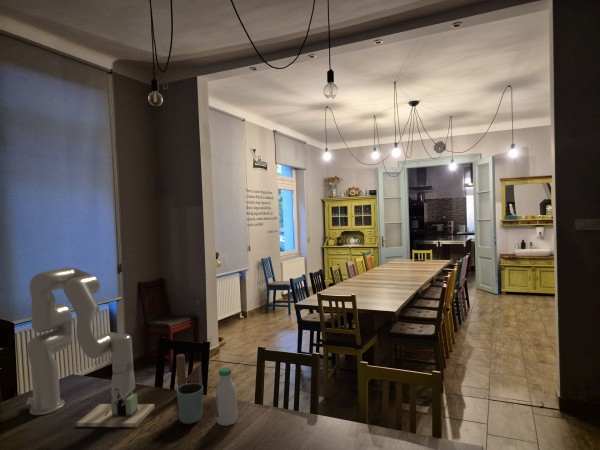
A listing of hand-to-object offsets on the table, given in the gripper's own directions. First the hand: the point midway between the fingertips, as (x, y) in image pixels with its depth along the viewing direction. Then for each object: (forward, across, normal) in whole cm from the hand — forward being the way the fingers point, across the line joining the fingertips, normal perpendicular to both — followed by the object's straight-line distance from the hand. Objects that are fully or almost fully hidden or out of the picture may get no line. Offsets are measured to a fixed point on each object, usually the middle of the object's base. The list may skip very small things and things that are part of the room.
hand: (125, 411), depth 161 cm
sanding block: (+1, 0, 0) cm, 1 cm away
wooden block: (+3, -19, +19) cm, 27 cm away
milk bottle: (+3, +2, +42) cm, 42 cm away
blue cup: (+3, 0, +27) cm, 27 cm away
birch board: (+3, 0, -4) cm, 5 cm away
